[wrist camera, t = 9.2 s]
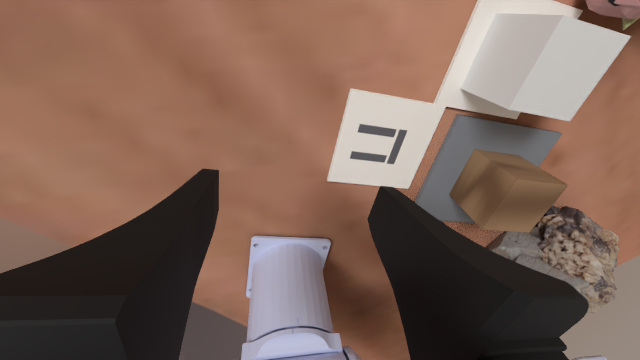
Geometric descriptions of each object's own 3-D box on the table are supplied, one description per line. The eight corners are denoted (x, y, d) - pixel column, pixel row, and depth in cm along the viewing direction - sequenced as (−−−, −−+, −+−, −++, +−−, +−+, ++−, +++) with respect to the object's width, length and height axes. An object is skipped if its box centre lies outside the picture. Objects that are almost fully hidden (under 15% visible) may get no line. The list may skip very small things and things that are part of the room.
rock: (523, 234, 37) (634, 248, 28) (499, 313, 33) (621, 356, 24) (497, 193, 33) (615, 195, 25) (467, 276, 29) (597, 311, 21)
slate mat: (494, 222, 30) (496, 224, 30) (407, 215, 27) (409, 218, 27) (558, 132, 24) (562, 133, 24) (457, 114, 22) (459, 115, 21)
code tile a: (407, 187, 25) (408, 188, 25) (326, 179, 23) (327, 181, 23) (444, 105, 21) (446, 106, 21) (350, 88, 19) (351, 89, 19)
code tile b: (513, 118, 23) (516, 119, 23) (433, 103, 21) (435, 104, 21) (579, 10, 19) (583, 10, 18) (486, -20, 17) (489, -21, 17)
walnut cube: (490, 198, 27) (529, 232, 23) (448, 194, 26) (482, 229, 22) (519, 155, 25) (568, 185, 21) (474, 148, 24) (517, 179, 19)
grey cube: (512, 99, 21) (569, 121, 17) (460, 88, 20) (508, 109, 16) (552, 29, 19) (631, 36, 15) (495, 13, 18) (563, 15, 14)
